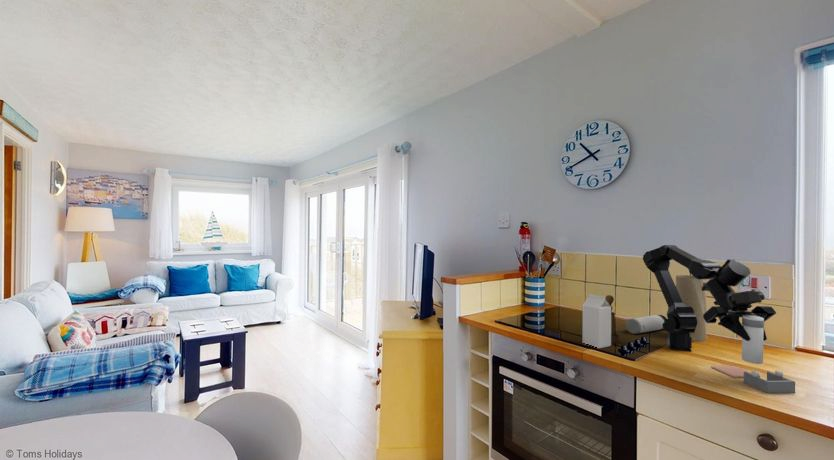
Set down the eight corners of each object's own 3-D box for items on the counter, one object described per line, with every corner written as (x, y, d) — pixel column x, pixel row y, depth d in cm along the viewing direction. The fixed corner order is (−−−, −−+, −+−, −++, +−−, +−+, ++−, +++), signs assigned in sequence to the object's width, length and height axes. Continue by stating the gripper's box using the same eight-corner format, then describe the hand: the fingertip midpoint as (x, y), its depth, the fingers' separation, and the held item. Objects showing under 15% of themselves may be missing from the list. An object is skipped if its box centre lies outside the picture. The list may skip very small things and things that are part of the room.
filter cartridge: (736, 358, 110) (737, 315, 109) (752, 357, 110) (753, 314, 110) (752, 364, 105) (752, 319, 105) (768, 363, 105) (769, 319, 105)
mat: (711, 367, 117) (711, 366, 117) (735, 367, 117) (735, 365, 117) (734, 378, 109) (734, 376, 109) (759, 377, 109) (759, 376, 109)
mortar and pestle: (600, 341, 143) (600, 296, 143) (599, 337, 149) (599, 293, 149) (619, 344, 141) (620, 297, 141) (617, 339, 147) (617, 294, 147)
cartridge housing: (742, 382, 106) (742, 367, 106) (770, 381, 106) (770, 367, 106) (766, 393, 99) (766, 377, 99) (796, 392, 99) (796, 377, 99)
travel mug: (642, 330, 150) (673, 325, 158) (633, 316, 154) (663, 311, 162) (631, 337, 155) (661, 331, 163) (622, 322, 158) (652, 318, 167)
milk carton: (598, 349, 135) (599, 297, 135) (582, 343, 141) (582, 294, 141) (611, 346, 138) (611, 296, 138) (594, 341, 144) (594, 293, 144)
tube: (671, 337, 150) (672, 276, 149) (680, 333, 156) (680, 274, 156) (701, 343, 142) (702, 279, 142) (709, 338, 148) (709, 277, 148)
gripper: (711, 280, 111) (744, 326, 100) (770, 279, 111) (810, 325, 100) (690, 300, 119) (719, 345, 108) (745, 300, 119) (780, 344, 108)
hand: (757, 340), depth 106 cm, fingers closed on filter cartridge, 5 cm apart
